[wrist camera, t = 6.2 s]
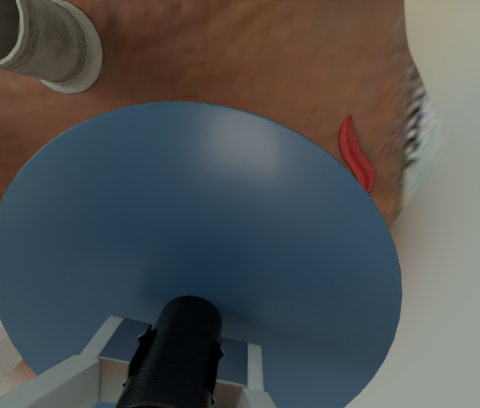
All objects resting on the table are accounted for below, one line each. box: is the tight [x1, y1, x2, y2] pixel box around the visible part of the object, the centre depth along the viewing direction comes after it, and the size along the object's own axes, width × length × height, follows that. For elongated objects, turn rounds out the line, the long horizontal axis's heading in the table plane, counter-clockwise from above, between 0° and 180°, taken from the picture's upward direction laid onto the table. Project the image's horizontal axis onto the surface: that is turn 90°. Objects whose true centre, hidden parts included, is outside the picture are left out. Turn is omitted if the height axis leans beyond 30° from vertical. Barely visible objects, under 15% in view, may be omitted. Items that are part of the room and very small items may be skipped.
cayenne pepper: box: [338, 115, 375, 193], centre depth 30 cm, size 12×5×2 cm, turn 7°
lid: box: [0, 101, 402, 408], centre depth 8 cm, size 17×17×5 cm
